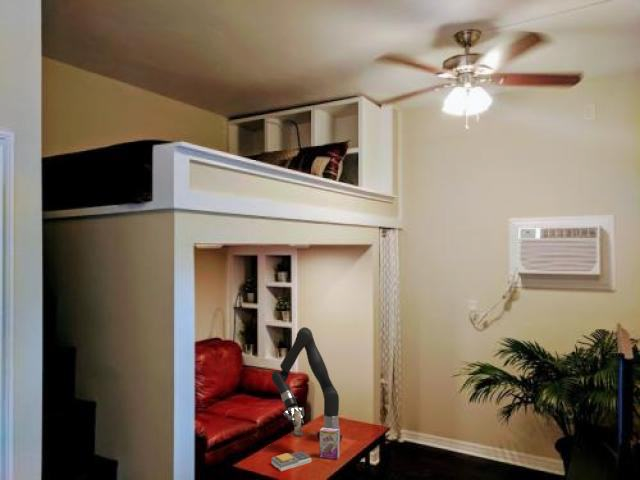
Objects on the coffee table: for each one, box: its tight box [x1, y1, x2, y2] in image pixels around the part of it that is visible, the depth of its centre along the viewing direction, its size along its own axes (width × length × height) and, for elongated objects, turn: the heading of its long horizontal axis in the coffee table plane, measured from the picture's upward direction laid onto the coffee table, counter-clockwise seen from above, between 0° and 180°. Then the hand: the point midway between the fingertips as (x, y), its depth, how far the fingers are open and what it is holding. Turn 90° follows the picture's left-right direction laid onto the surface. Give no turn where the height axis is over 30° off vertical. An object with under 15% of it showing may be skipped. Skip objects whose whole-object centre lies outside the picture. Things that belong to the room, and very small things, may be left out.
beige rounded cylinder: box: [293, 410, 304, 438], centre depth 296 cm, size 6×6×14 cm
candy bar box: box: [319, 427, 340, 461], centre depth 289 cm, size 11×5×16 cm, turn 74°
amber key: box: [275, 452, 293, 463], centre depth 280 cm, size 7×7×1 cm
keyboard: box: [271, 450, 312, 472], centre depth 282 cm, size 20×11×4 cm, turn 124°
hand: (299, 425), depth 294 cm, fingers closed on beige rounded cylinder, 4 cm apart
